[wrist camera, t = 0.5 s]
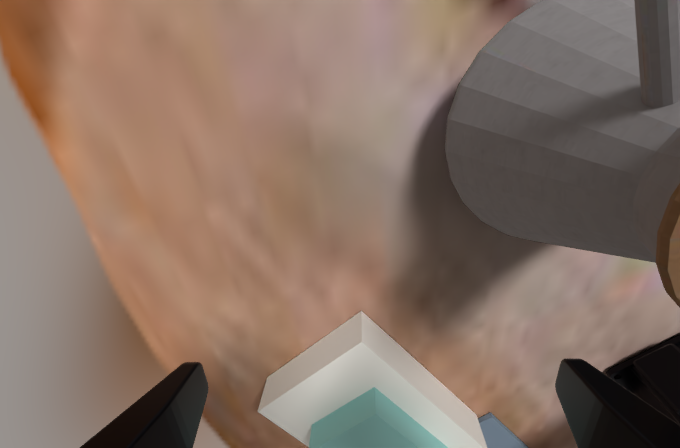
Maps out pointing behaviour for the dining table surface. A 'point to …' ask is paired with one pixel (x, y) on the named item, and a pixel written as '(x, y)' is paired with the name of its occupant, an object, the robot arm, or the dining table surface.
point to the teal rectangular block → (370, 426)
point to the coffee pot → (577, 130)
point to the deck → (364, 385)
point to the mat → (498, 433)
